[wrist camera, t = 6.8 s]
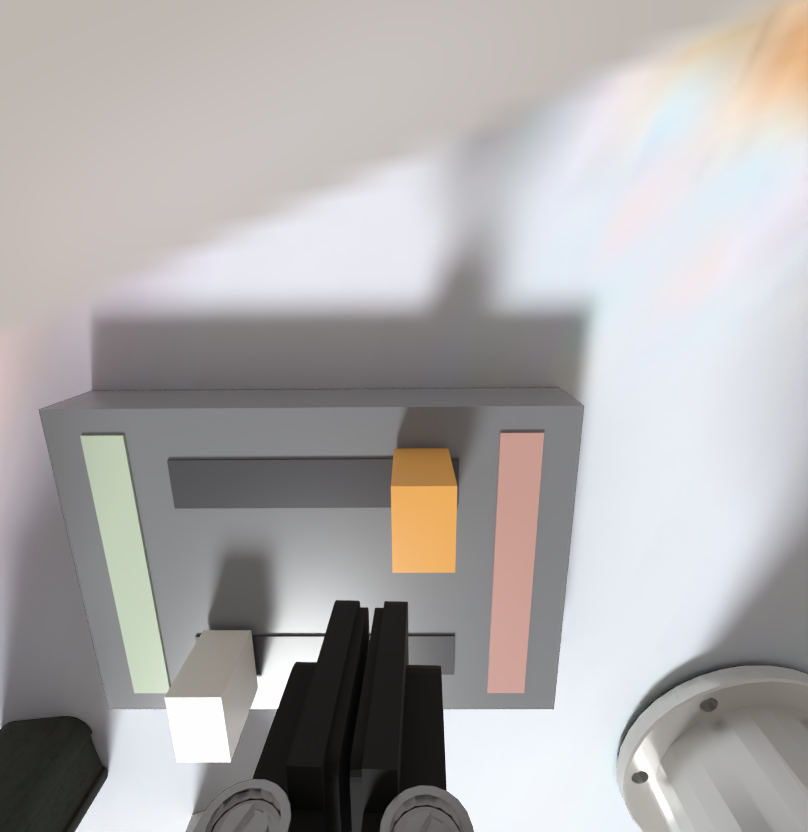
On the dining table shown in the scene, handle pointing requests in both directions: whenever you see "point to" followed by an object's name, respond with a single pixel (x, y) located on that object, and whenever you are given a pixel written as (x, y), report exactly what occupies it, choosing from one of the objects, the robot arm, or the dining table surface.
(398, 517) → the breaker handle
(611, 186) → the dining table surface
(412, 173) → the dining table surface
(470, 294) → the dining table surface
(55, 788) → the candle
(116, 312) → the dining table surface
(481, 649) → the breaker panel
